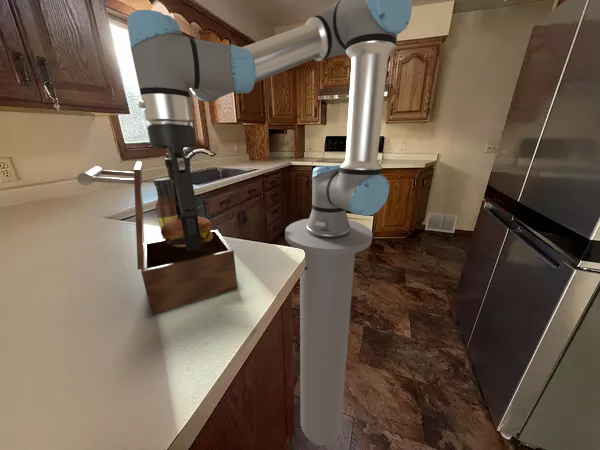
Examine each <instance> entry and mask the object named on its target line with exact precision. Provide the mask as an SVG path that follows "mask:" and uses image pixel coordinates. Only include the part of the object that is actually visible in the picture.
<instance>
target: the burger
mask: <svg viewBox="0 0 600 450" xmlns="http://www.w3.org/2000/svg"><path fill="white" fill-rule="evenodd" d="M197 218H198V224H199V231H200V237H201V244H202V243H203V242H209V241H211V240H212V239H213V235H212V233H211V231H212V230H211V227H212V223H211V221H210V220H209V219H208V218H206V217H204V216H203V217H202V216H197ZM160 234H161V236H162V238H163V237H164V238H165V241H166V242H167V243H168V244H170V245H173V246H176V247H186V245H185V239H184V234H183V228H182V222H181V219H173V220H170V221H168V222H166V223H165V224H164V225H163V226H162V228H160Z"/></svg>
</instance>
